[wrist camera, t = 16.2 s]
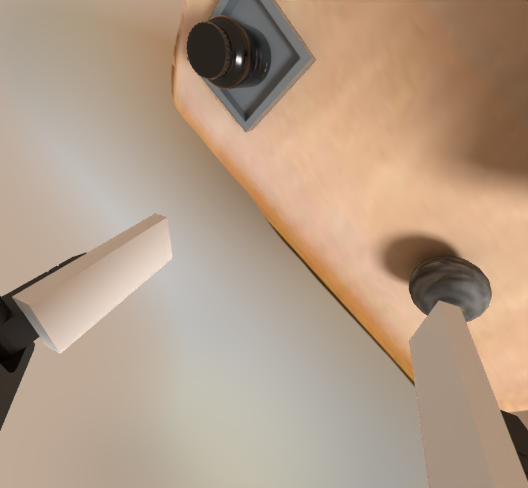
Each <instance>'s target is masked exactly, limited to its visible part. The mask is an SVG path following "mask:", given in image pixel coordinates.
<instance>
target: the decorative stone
mask: <svg viewBox="0 0 528 488" xmlns="http://www.w3.org/2000/svg"><path fill="white" fill-rule="evenodd" d="M409 292H410V295H411V298H412V300H413V302H414V304H415V305H416V306H417V307H418V308H419V309H420V310H421V311H422V312H423V313H424V314H426V315H427V316H428V314H429V313H430V312H431V310H432V309H433V308H434V306H435V305H436V304H437V302H438V301H442V302H446V303H449V304H452V305H455V306H459V307H460V308H461V311H462V313H463V316H464V318H465V321H466V322H468V321H472V320H473V319H475V318H477V317H479V316H480V315H481V314H482V313H483V312H484V311H485V310H486V309H487V308H488V306H489V303H490V300H491V296H492V292H491V287H490V283H489V280H488V278H487V277H486V276H485V275H484V273H483V272H482V271H481V270H480V268H478V267H477V266H475V265H474V264H472V263H470V262H469V261H467V260H465V259H461V258H457V257H453V256H440V257H434V258H431V259H429V260H426V261H424V262H422V263H421V264H420V265H419V266H417V267H416V268H415V270H414V272H413V273H412V275H411V277H410V281H409Z"/></svg>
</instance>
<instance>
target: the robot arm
mask: <svg viewBox="0 0 528 488" xmlns="http://www.w3.org/2000/svg"><path fill="white" fill-rule="evenodd" d="M171 259H172V251H171V243H170V235H169V228H168V221H167V217H165V216H161V215H158V214H154V215H152V216H150V217H148V218H147V219H145V220H143V221H141V222H140V223H138V224H136V225H135V226H133V227H131V228H130V229H128V230H126V231H124V232H122V233H121V234H119V235H117V236H116V237H114V238H112V239H110V240H109V241H107V242H105V243H104V244H102V245H100V246H98V247H97V248H95V249H93V250H92V251H90V252H88V253H84V254H80V255H78V256H75V257H72V258H70V259H68V260H66V261H65V262H63V263H61V264H59V266H56V267H54V268H52V269H51V270H49V272H45V273H43V274H42V275H40V276H38V277H37V278H34V279H33V280H31V281H29V282H28V283H26V284H24V285H22V286H20V287H19V288H17V289H15V290H13V291H12V292H10V293H8V294H6V295H4V296H2V297H1V296H0V430H1V428H2V425H3V423H4V420H5V418H6V415H7V413H8V411H9V408H10V405H11V404H12V401H13V399H14V396H15V394H16V391H17V389H18V387H19V384H20V382H21V380H22V377H23V374H24V372H25V370H26V368H27V365H28V363H29V360H30V358H31V355H32V353H33V351H34V346H35V343H34V342H33V341H34V340H36V339H37V338H38V337H40V338H41V340H42V341H43V343H44V344H45V345H46V346H47V347H49V348H51V349H52V350H54V351H56V352H58V353H60V354H61V353H62V352H63V351H64V350H65V349H66V348H67V347H68V346H70V345H71V344H72V343H73V342H75V341H76V340H77V339H78V338H79V337H80V336H82V335H83V334H84V333H85V332H86V331H87V330H88V329H90V328H91V327H92V326H93V325H95V324H96V323H97V322H98V321H99V320H100V319H101V318H103V317H104V316H105V315H106V314H107V313H109V312H110V311H111V310H112V309H113V308H114V307H116V306H117V305H118V304H119V303H120V302H121V301H123V300H124V299H125V298H126V297H127V296H129V295H130V294H131V293H132V292H133V291H134V290H136V289H137V288H138V287H139V286H140V285H141V284H143V283H144V282H145V281H146V280H147V279H149V278H150V277H151V276H152V275H153V274H154V273H156V272H157V271H158V270H159V269H160V268H161V267H163V266H164V265H165V264H166V263H167V262H168V261H170V260H171ZM409 345H410V352H411V359H412V367H413V374H414V381H415V389H416V396H417V403H418V411H419V418H420V424H421V433H422V439H423V447H424V455H425V462H426V470H427V476H428V484H429V488H528V430H527V428H526V427H525V426H524V424H523V423H522V422H521V420H520V419H519V418H518V417H517V416H515V415H513V414H510V413H507V412H505V411H502V410H500V409H499V406H498V404H497V401H496V398H495V396H494V393H493V391H492V388H491V385H490V383H489V380H488V378H487V375H486V373H485V370H484V367H483V365H482V362H481V360H480V357H479V355H478V352H477V349H476V347H475V344H474V342H473V339H472V337H471V334H470V331H469V329H468V326H467V324H466V321H465V318H464V316H463V313H462V311H461V308H460V307H459V306H455V305H452V304H449V303H446V302H442V301H438V302H437V304H436V305H435V306H434V308H433V309H432V310H431V312H430V313H429V314H428V316H427V317H426V319H425V320H424V321H423V323H422V324H421V325H420V327H419V328H418V329H417V331H416V332H415V333H414V335H413V336H412V337H411V339H410V340H409Z"/></svg>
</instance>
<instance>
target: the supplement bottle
mask: <svg viewBox="0 0 528 488" xmlns="http://www.w3.org/2000/svg"><path fill="white" fill-rule="evenodd" d="M187 54H188V59H189V61H190V64H191V65H192V68H193V69H194V70H195V72H196V73H198V75H200V76H201V77H203V78H206V79H207V80H208V81H209V82H210V83H211V84H213V85H214V86H216V87H218V88H222V89H235V88H249V87H254V86H257V85H259V84H260V83H261V82H262V81H263V80H264V79H265V78H266V76H267V75H268V72H269V70H270V66H271V49H270V45H269V43H268V41H267V39H266V37H265V36H264V35H263V33H261V32H260V31H259V30H258V29H256V28H254V27H252V26H249V25H247V24H245V23H243V22H240V21H238V20H236V19H233V18H231V17H228V16H224V15H219V16H215V17H212V18H211V19H209V20H208V21H207V22H201V23H198V24H197V25H195V26H194V28H192V30H191V32H190V33H189V36H188V41H187Z"/></svg>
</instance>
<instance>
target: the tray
mask: <svg viewBox="0 0 528 488" xmlns="http://www.w3.org/2000/svg"><path fill="white" fill-rule="evenodd" d="M219 15H224V16H228V17H231V18H233V19H236V20H238V21H240V22H243V23H245V24H247V25H249V26H252V27H254V28H256V29H258V30H259V31H260V32H261V33H263V35H264V36H265V37H266V39H267V41H268V43H269V45H270V49H271V66H270V70H269V72H268V75H267V76H266V78H265V79H264V80H263V81H262V82H261V83H260V84H259V85H257V86H254V87H249V88H235V89H222V88H218V87H216V86H214V85H213V84H211V83H210V82H209V81H208V80H207V79H206V78H203V77H202V78H203V79H204V81H205V82H206V83H207V84H208V86H209V87H210V88H211V89H212V91H213V92H214V93H215V94H216V96H217V97H218V98H219V99H220V101H221V102H222V103H223V104H224V106H225V107H226V108H227V109H228V111H229V112H230V113H231V114H232V116H233V117H234V118H235V119H236V121H237V122H238V123H239V124H240V126H241V127H242V128H243V129H244V131H245V132H247V131H250V130H253V129H254V128H255V127H256V125H257V124H258V123H259V122H260V121H261V120H262V119H263V118H264V117H265V116H266V114H267V113H268V112H269V111H270V110H271V109H272V108H273V107H274V106H275V104H276V103H277V102H278V101H279V100H280V99H281V98H282V97H283V96H284V95H285V93H286V92H287V91H288V90H289V89H290V88H291V87H292V86H293V85H294V84H295V82H296V81H297V80H298V79H299V78H300V77H301V76H302V75H303V74H304V73H305V71H306V70H307V69H308V68H309V67H310V66H311V65H312V64H313V63H314V62H315V60H316V59H315V58H314V56H313V55H312V53H311V52H310V50H309V49H308V47H307V46H306V45H305V43H304V42H303V40H302V39H301V37H300V36H299V34H298V33H297V31H296V30H295V29H294V27H293V26H292V24H291V23H290V21H289V20H288V18H287V17H286V16H285V14H284V13H283V11H282V10H281V8H280V7H279V5H278V4H277V3H276V1H275V0H219V2H218V3H217V5H216V7H215V9H214V11H213V12H212V14H211V16H210V18H209V19H211V18H212V17H215V16H219ZM187 59H188V57H187ZM188 61H189V59H188ZM189 62H190V61H189Z"/></svg>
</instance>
